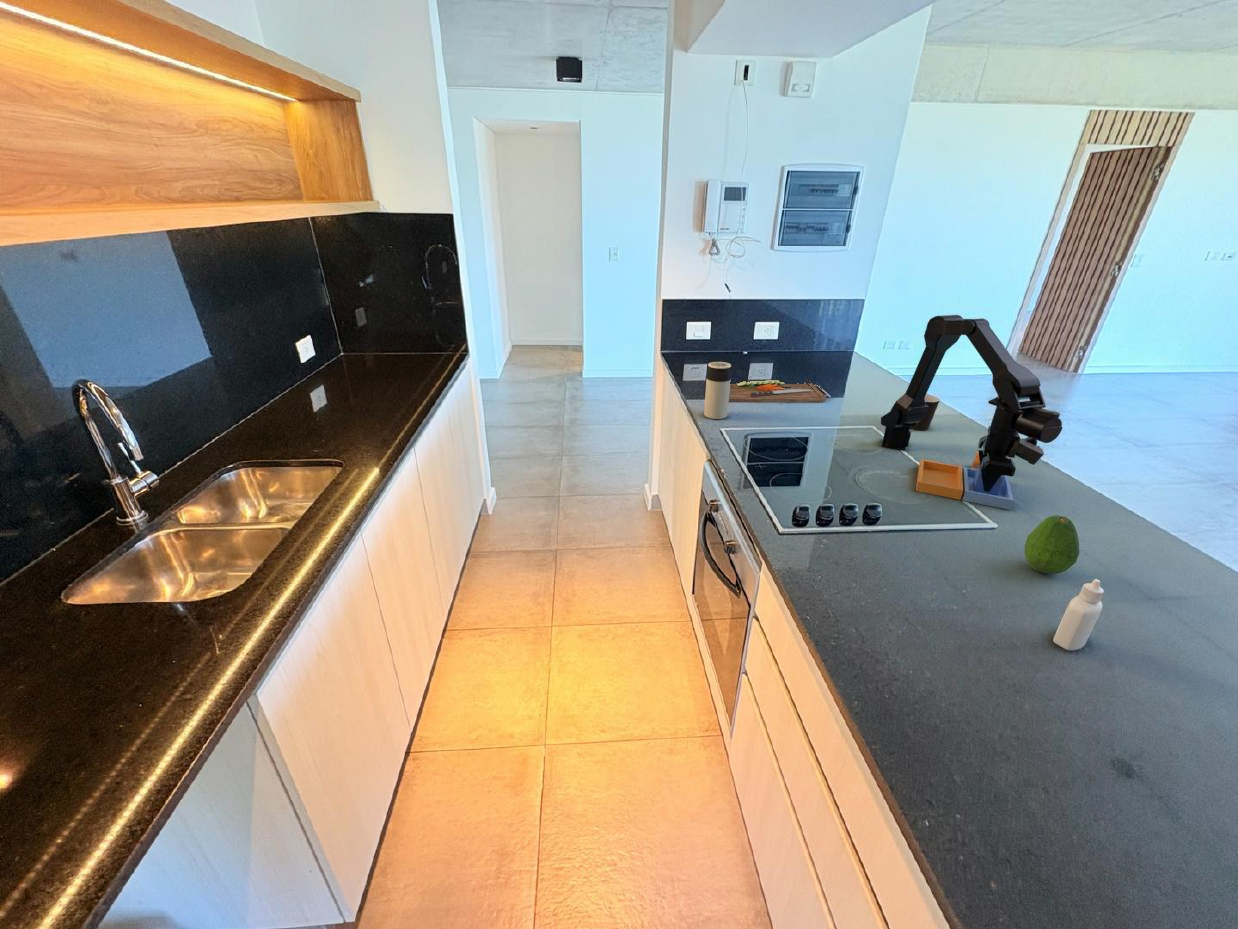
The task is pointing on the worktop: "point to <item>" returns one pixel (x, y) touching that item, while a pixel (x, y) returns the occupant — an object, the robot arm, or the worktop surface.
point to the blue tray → (969, 495)
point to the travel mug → (717, 390)
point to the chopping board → (775, 392)
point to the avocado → (1052, 545)
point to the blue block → (979, 484)
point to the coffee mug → (928, 413)
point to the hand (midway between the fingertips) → (985, 486)
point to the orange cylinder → (976, 461)
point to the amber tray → (940, 479)
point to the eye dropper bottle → (1080, 617)
